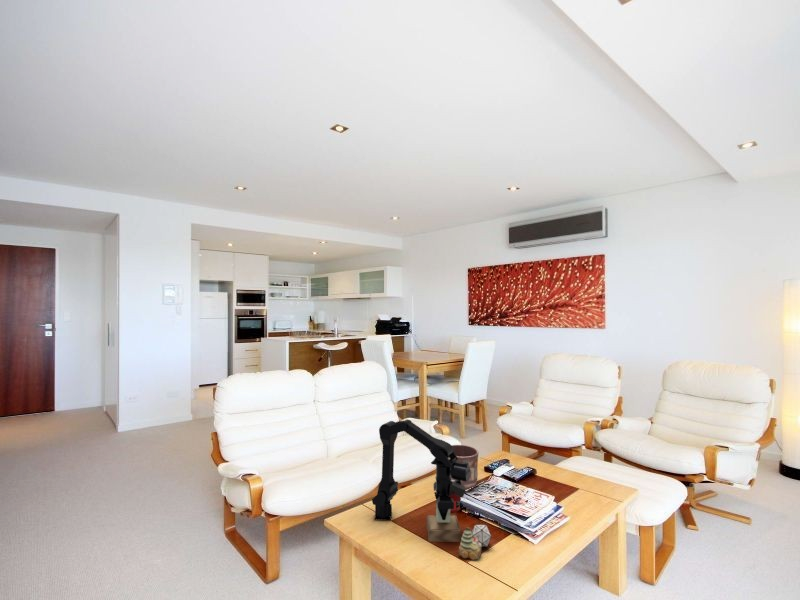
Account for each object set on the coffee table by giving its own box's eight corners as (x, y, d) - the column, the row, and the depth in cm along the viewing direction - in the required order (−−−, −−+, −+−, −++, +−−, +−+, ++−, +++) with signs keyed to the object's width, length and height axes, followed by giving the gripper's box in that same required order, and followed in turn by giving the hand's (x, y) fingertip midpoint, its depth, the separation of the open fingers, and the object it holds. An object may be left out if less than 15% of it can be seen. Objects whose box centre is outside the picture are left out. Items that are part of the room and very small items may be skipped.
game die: (483, 559, 158) (486, 546, 152) (463, 544, 162) (465, 531, 156) (495, 539, 164) (498, 526, 158) (475, 525, 168) (478, 512, 162)
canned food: (460, 513, 185) (460, 487, 186) (441, 511, 187) (441, 485, 187) (461, 505, 193) (461, 480, 193) (443, 503, 195) (443, 478, 195)
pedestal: (428, 541, 163) (428, 530, 163) (426, 525, 175) (426, 514, 175) (460, 541, 163) (460, 530, 163) (456, 525, 175) (456, 514, 175)
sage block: (437, 522, 167) (437, 509, 167) (436, 516, 172) (436, 503, 172) (450, 522, 167) (450, 509, 167) (448, 516, 172) (448, 503, 172)
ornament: (481, 552, 156) (481, 524, 156) (481, 562, 150) (481, 533, 150) (459, 549, 158) (459, 522, 158) (458, 559, 152) (458, 530, 152)
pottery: (434, 486, 213) (434, 449, 213) (457, 476, 225) (458, 442, 225) (462, 498, 200) (463, 459, 200) (485, 488, 212) (486, 451, 212)
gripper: (467, 486, 160) (467, 529, 160) (460, 467, 179) (460, 505, 178) (437, 486, 160) (437, 528, 160) (433, 467, 179) (433, 505, 178)
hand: (443, 516), depth 169 cm, fingers closed on sage block, 5 cm apart
